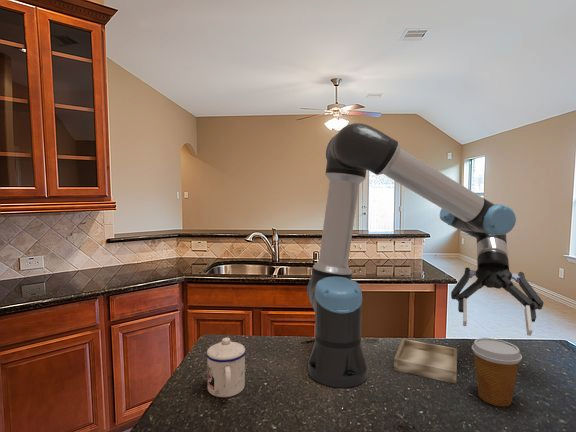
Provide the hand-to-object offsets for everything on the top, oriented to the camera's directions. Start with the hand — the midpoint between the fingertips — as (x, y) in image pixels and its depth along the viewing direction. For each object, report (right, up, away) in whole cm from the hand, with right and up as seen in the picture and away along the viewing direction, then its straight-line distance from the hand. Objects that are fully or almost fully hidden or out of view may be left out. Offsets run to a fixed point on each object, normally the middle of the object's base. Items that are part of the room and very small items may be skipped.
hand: (496, 328), depth 83 cm
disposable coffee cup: (-5, -14, -7) cm, 16 cm away
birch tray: (-14, -13, +9) cm, 20 cm away
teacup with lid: (-65, -13, -5) cm, 66 cm away
